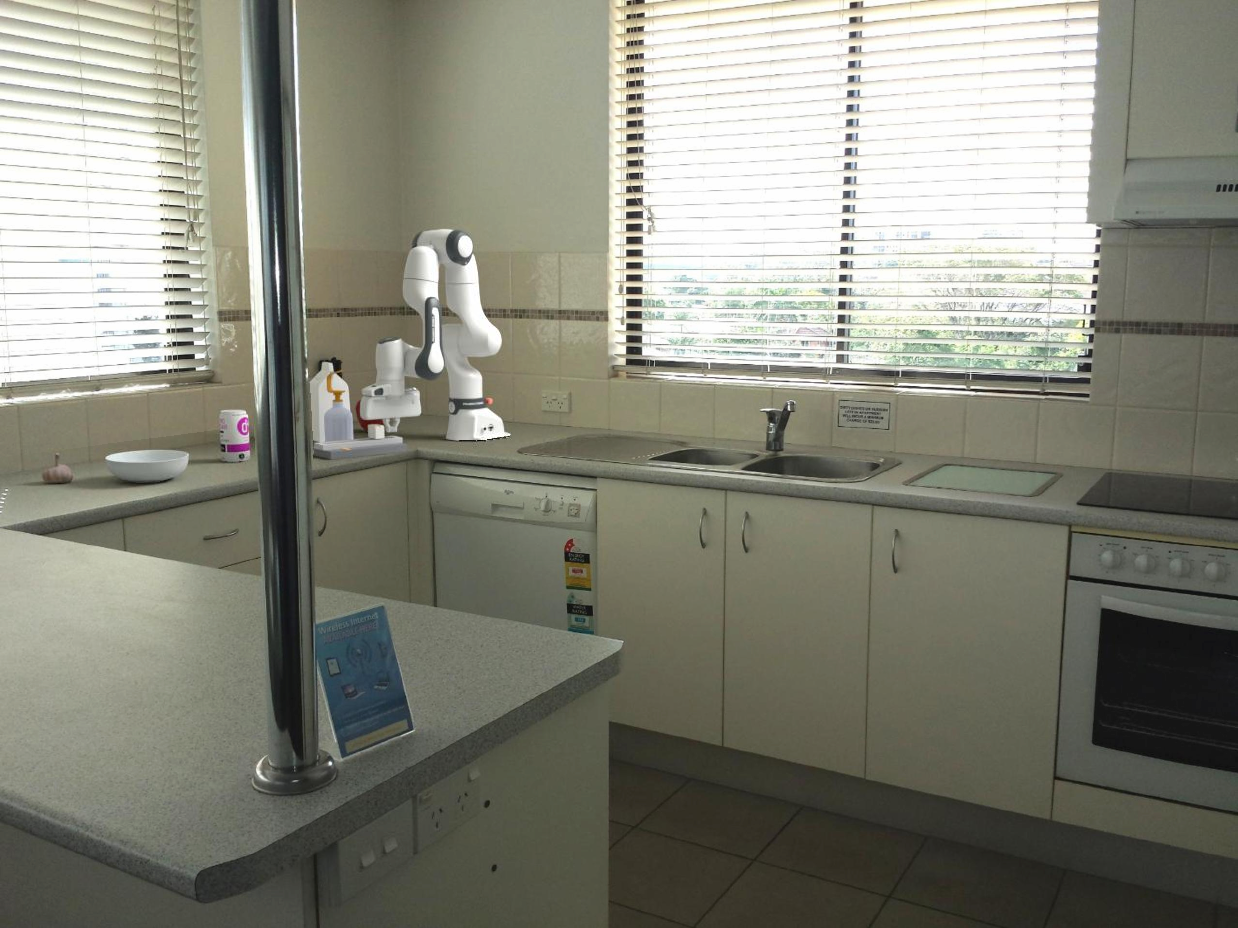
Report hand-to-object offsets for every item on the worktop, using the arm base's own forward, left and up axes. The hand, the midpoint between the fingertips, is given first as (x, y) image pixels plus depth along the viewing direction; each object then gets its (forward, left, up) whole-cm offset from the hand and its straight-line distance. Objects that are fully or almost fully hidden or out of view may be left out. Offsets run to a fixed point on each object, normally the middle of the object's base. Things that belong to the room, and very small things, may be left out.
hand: (391, 432), depth 361 cm
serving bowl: (+78, +9, -6) cm, 79 cm away
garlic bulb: (+98, -2, -6) cm, 99 cm away
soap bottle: (+8, -20, -6) cm, 23 cm away
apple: (-16, -42, -6) cm, 45 cm away
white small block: (+5, 0, -3) cm, 6 cm away
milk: (+4, -35, -6) cm, 36 cm away
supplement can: (+47, -9, -6) cm, 49 cm away
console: (+11, 0, -6) cm, 13 cm away
